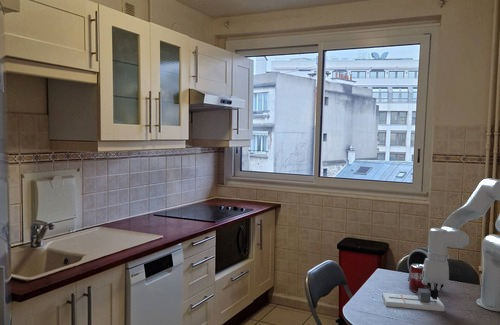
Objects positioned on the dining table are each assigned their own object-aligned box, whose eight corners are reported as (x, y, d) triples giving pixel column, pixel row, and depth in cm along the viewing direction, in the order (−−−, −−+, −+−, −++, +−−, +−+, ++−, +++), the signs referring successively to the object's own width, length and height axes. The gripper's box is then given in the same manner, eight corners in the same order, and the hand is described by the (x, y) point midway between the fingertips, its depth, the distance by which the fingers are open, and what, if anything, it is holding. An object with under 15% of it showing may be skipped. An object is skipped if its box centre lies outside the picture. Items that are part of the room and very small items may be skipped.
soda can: (426, 293, 195) (428, 268, 194) (410, 292, 196) (411, 267, 196) (423, 288, 202) (424, 264, 201) (407, 286, 203) (409, 262, 203)
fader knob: (427, 297, 184) (427, 289, 183) (430, 302, 179) (430, 293, 178) (417, 297, 184) (418, 288, 184) (420, 301, 179) (420, 292, 179)
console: (437, 302, 185) (438, 297, 185) (444, 311, 176) (444, 306, 175) (382, 297, 189) (382, 292, 189) (385, 305, 180) (385, 301, 179)
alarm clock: (402, 279, 214) (404, 244, 212) (416, 276, 218) (418, 242, 217) (429, 290, 199) (431, 253, 198) (443, 287, 204) (445, 250, 203)
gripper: (452, 256, 182) (449, 296, 183) (416, 253, 184) (414, 293, 186) (458, 261, 175) (455, 303, 176) (420, 258, 177) (418, 299, 178)
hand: (434, 298), depth 181 cm, fingers closed
